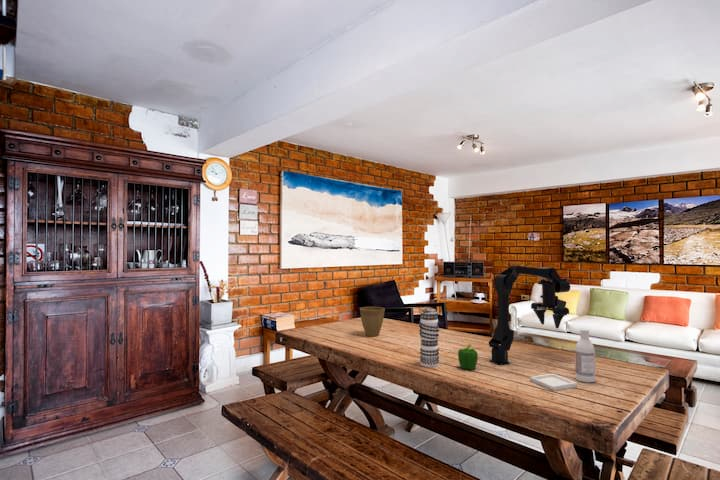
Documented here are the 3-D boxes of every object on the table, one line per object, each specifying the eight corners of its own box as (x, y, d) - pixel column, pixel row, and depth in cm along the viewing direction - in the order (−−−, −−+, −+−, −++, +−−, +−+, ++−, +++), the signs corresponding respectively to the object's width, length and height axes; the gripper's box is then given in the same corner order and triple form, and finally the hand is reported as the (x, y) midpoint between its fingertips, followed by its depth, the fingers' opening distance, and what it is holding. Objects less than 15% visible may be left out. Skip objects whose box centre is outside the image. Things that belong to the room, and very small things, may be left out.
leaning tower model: (427, 359, 187) (426, 306, 187) (444, 364, 180) (443, 308, 181) (415, 364, 181) (414, 308, 181) (432, 368, 174) (431, 311, 174)
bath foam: (577, 375, 164) (576, 326, 164) (596, 379, 159) (596, 329, 159) (573, 380, 158) (572, 329, 158) (593, 384, 154) (592, 332, 154)
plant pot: (385, 338, 229) (385, 310, 229) (359, 338, 229) (359, 310, 230) (384, 332, 244) (384, 306, 244) (360, 332, 244) (359, 306, 244)
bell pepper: (468, 372, 169) (468, 348, 169) (454, 367, 176) (454, 344, 176) (482, 368, 173) (482, 345, 173) (468, 364, 180) (467, 341, 180)
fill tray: (553, 391, 147) (552, 386, 147) (529, 380, 158) (529, 376, 158) (577, 387, 151) (577, 382, 151) (552, 377, 162) (552, 373, 162)
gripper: (578, 294, 184) (579, 328, 184) (548, 290, 202) (549, 321, 202) (558, 296, 181) (559, 331, 181) (529, 291, 199) (530, 323, 199)
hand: (549, 326), depth 191 cm, fingers open, 9 cm apart
